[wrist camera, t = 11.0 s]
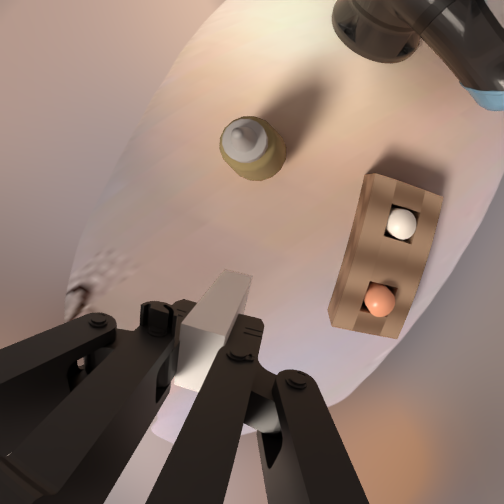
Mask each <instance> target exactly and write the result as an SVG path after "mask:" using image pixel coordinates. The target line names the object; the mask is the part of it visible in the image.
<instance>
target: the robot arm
mask: <svg viewBox="0 0 504 504" xmlns="http://www.w3.org/2000/svg"><path fill="white" fill-rule="evenodd" d="M332 24H333V27H334V30H335V32H336V34H337V35H338V37H339V38H340V39H341V41H342V42H343V43H344V44H345V45H346V46H347V47H349V48H350V49H351V50H352V51H354V52H355V53H357V54H359V55H361V56H362V57H365V58H367V59H369V60H372V61H376V62H381V63H397V62H401V61H403V60H405V59H407V58H408V57H409V56H410V55H411V54H412V53H413V52H414V51H415V50H416V48H417V46H418V44H419V41H420V37H421V38H422V39H423V40H424V41H425V42H426V43H427V44H428V45H429V46H430V47H431V48H432V50H433V51H434V52H435V53H436V54H437V55H438V56H439V57H440V58H441V59H442V60H443V62H444V63H445V64H446V65H447V66H448V67H449V69H450V70H451V71H452V72H453V73H454V75H455V76H456V77H457V78H458V79H459V82H460V84H461V86H462V87H463V88H465V89H466V90H467V91H468V92H469V93H470V95H471V96H472V97H473V98H474V100H475V101H476V102H477V103H478V104H479V105H480V106H481V107H483V108H485V109H487V110H490V111H504V0H337V2H336V3H335V5H334V8H333V13H332ZM251 280H252V276H250V275H246V274H242V273H238V272H234V271H231V270H227V269H225V270H224V271H223V272H222V273H221V274H220V276H219V277H218V278H217V279H216V281H215V282H214V283H213V284H212V286H211V287H210V288H209V289H208V290H207V292H206V293H205V294H204V295H203V297H202V298H201V299H200V300H199V302H198V303H196V302H192V301H189V300H185V299H183V300H180V301H177V302H175V303H174V304H173V305H170V304H167V303H164V302H159V301H150V302H145V303H143V304H141V312H140V326H139V327H138V328H137V329H135V330H134V331H129V330H123V329H117V323H116V320H115V319H114V318H113V317H112V316H110V315H107V314H104V313H90V314H86V315H84V316H82V317H79V318H77V319H74V320H72V321H69V322H67V323H64V324H62V325H59V326H57V327H54V328H52V329H49V330H47V331H44V332H42V333H40V334H37V335H35V336H32V337H30V338H27V339H25V340H22V341H20V342H17V343H15V344H12V345H10V346H8V347H5V348H3V349H0V504H103V503H104V502H105V500H106V498H107V497H108V495H109V493H110V492H111V490H112V488H113V486H114V485H115V483H116V481H117V480H118V478H119V476H120V475H121V473H122V471H123V470H124V468H125V466H126V465H127V463H128V461H129V460H130V458H131V456H132V455H133V453H134V451H135V449H136V448H137V446H138V444H139V443H140V441H141V439H142V438H143V436H144V434H145V433H146V431H147V429H148V427H149V426H150V424H151V422H152V421H153V419H154V417H155V416H156V414H157V412H158V411H159V409H160V407H161V406H162V404H163V402H164V401H165V399H166V397H167V396H168V394H169V392H170V386H171V380H172V379H173V377H174V376H175V382H174V384H175V385H178V386H181V387H184V388H187V389H190V390H193V391H196V392H199V393H198V395H197V397H196V399H195V401H194V403H193V405H192V408H191V410H190V412H189V414H188V416H187V418H186V420H185V422H184V424H183V427H182V429H181V431H180V433H179V435H178V437H177V439H176V441H175V443H174V445H173V447H172V450H171V452H170V454H169V456H168V458H167V460H166V462H165V464H164V466H163V468H162V470H161V473H160V475H159V477H158V479H157V481H156V483H155V485H154V487H153V489H152V491H151V493H150V495H149V497H148V499H147V501H146V503H145V504H223V502H224V497H225V494H226V490H227V486H228V482H229V479H230V475H231V471H232V467H233V463H234V459H235V455H236V451H237V447H238V443H239V439H240V435H241V431H242V427H243V423H244V424H246V425H248V426H250V427H252V428H254V429H256V430H257V440H258V446H259V452H260V458H261V464H262V470H263V476H264V482H265V487H266V493H267V499H268V504H369V502H368V500H367V497H366V495H365V493H364V490H363V488H362V486H361V483H360V481H359V479H358V476H357V474H356V472H355V470H354V467H353V465H352V463H351V461H350V458H349V456H348V453H347V451H346V449H345V447H344V445H343V442H342V440H341V438H340V435H339V433H338V431H337V428H336V426H335V424H334V422H333V419H332V417H331V415H330V413H329V410H328V408H327V406H326V403H325V401H324V399H323V397H322V394H321V392H320V390H319V388H318V385H317V383H316V382H315V380H314V379H313V378H312V377H311V376H309V375H308V374H306V373H304V372H302V371H298V370H284V371H281V372H279V373H278V375H275V374H273V373H271V372H269V371H267V370H266V369H265V368H263V367H262V366H261V364H260V363H259V361H258V353H259V349H260V344H261V340H262V335H263V330H264V324H263V322H262V320H261V319H259V318H255V317H251V316H247V315H244V310H245V306H246V302H247V297H248V293H249V289H250V284H251ZM82 357H83V358H84V365H82V366H78V365H77V360H79V359H80V358H82ZM10 453H11V454H10ZM8 454H10V455H8ZM7 455H8V456H7Z"/></svg>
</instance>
